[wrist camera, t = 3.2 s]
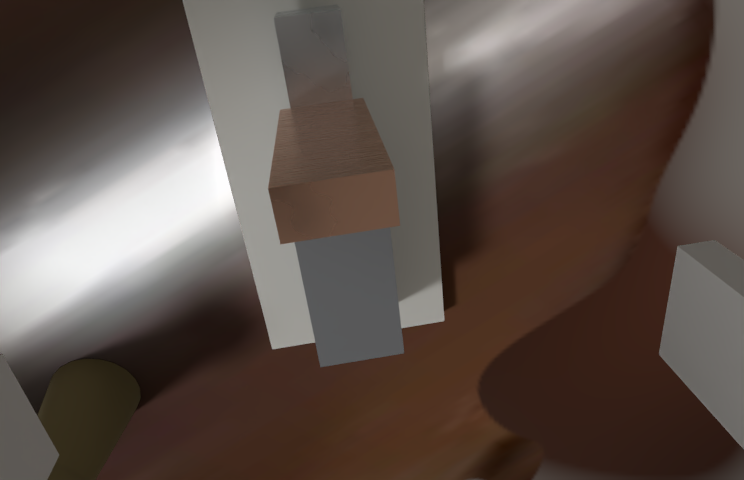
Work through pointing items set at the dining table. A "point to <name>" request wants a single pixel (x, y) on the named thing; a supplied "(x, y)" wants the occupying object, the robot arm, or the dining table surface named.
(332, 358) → the outer sleeve
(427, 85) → the base board
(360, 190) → the inner bar
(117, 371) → the cork
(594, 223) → the dining table surface
